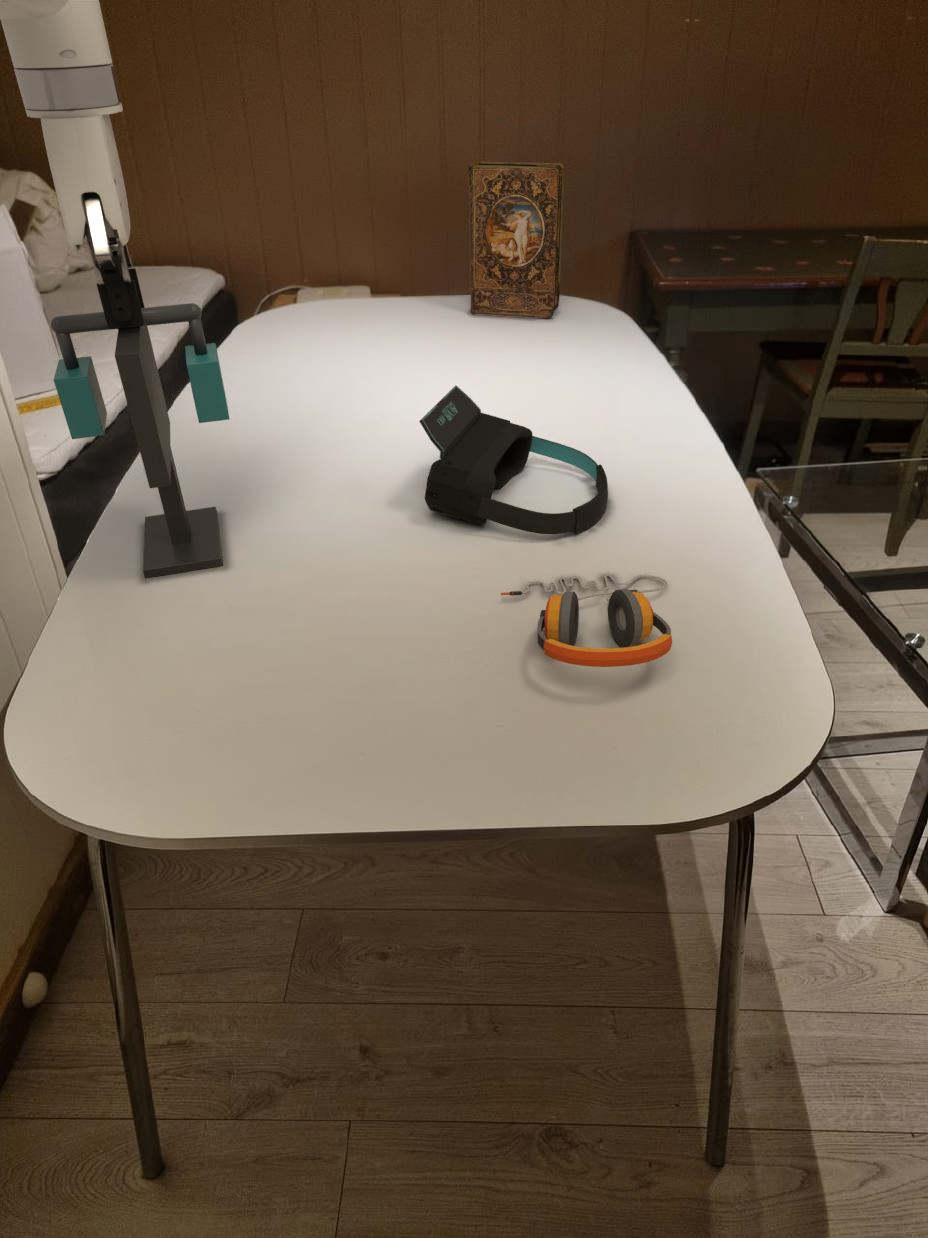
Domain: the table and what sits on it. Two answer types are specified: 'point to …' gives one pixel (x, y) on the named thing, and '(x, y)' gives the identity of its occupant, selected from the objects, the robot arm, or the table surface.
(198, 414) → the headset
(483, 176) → the book
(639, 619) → the headphones
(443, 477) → the virtual reality headset
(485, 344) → the table surface
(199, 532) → the monitor
